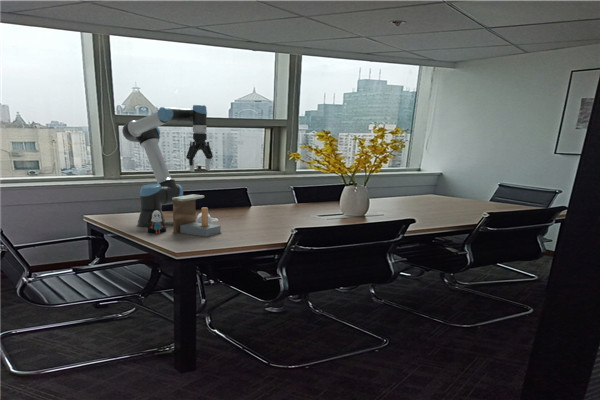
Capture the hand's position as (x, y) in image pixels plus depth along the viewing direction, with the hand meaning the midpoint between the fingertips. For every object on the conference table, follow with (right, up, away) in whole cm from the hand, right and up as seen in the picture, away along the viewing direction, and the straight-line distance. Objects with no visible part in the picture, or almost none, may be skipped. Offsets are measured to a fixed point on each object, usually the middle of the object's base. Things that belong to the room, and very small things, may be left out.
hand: (200, 170), depth 250 cm
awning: (-5, -34, -5) cm, 35 cm away
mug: (+3, -33, +6) cm, 33 cm away
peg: (+5, -35, -10) cm, 37 cm away
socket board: (+2, -34, -9) cm, 36 cm away
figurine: (-21, -34, -11) cm, 42 cm away
